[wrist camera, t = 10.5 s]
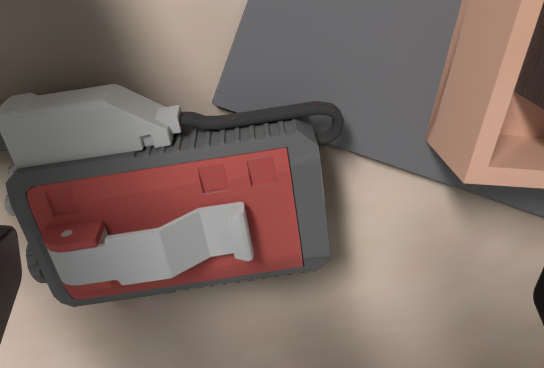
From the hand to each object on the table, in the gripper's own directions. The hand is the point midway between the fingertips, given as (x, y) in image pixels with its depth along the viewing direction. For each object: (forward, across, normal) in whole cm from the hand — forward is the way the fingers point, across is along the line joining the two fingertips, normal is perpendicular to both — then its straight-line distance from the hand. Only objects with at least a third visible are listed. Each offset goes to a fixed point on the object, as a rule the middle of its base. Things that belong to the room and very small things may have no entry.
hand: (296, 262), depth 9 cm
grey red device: (+13, +6, +6) cm, 15 cm away
